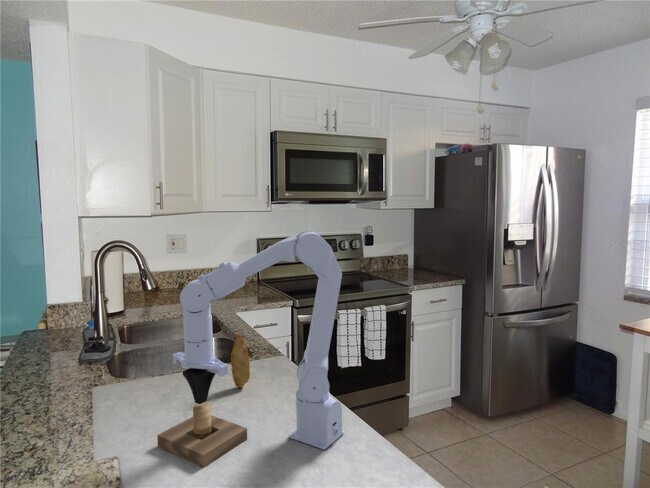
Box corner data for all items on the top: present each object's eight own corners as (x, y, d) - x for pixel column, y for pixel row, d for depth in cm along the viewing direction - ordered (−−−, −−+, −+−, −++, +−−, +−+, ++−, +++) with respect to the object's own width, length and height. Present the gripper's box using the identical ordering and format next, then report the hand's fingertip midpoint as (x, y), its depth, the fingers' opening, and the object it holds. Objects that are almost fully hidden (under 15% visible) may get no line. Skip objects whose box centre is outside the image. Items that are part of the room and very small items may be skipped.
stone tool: (250, 385, 125) (249, 332, 123) (250, 388, 123) (248, 334, 121) (232, 386, 125) (230, 333, 123) (231, 389, 122) (229, 335, 121)
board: (247, 439, 97) (246, 428, 97) (204, 467, 87) (203, 455, 87) (202, 422, 104) (201, 411, 104) (157, 446, 94) (157, 434, 94)
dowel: (215, 441, 96) (214, 405, 95) (202, 449, 93) (201, 412, 92) (203, 436, 98) (202, 401, 97) (190, 444, 95) (188, 407, 94)
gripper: (159, 338, 94) (162, 400, 95) (208, 350, 86) (210, 418, 87) (187, 329, 100) (189, 388, 101) (234, 340, 92) (236, 404, 93)
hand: (201, 401), depth 95 cm, fingers closed
